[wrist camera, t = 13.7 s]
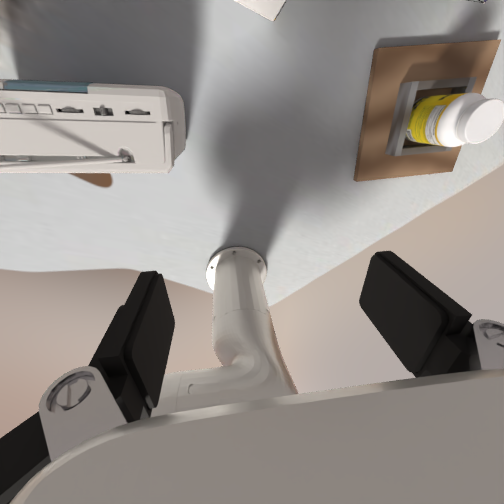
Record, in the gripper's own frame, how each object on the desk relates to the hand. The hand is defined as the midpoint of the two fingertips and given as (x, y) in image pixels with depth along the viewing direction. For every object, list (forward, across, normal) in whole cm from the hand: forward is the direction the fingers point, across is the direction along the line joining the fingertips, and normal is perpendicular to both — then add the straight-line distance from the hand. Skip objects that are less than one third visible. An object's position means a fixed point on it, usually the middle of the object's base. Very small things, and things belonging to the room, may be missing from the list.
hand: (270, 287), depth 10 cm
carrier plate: (+32, -30, -6) cm, 44 cm away
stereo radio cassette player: (+32, +17, -6) cm, 37 cm away
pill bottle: (+31, -30, -6) cm, 43 cm away
